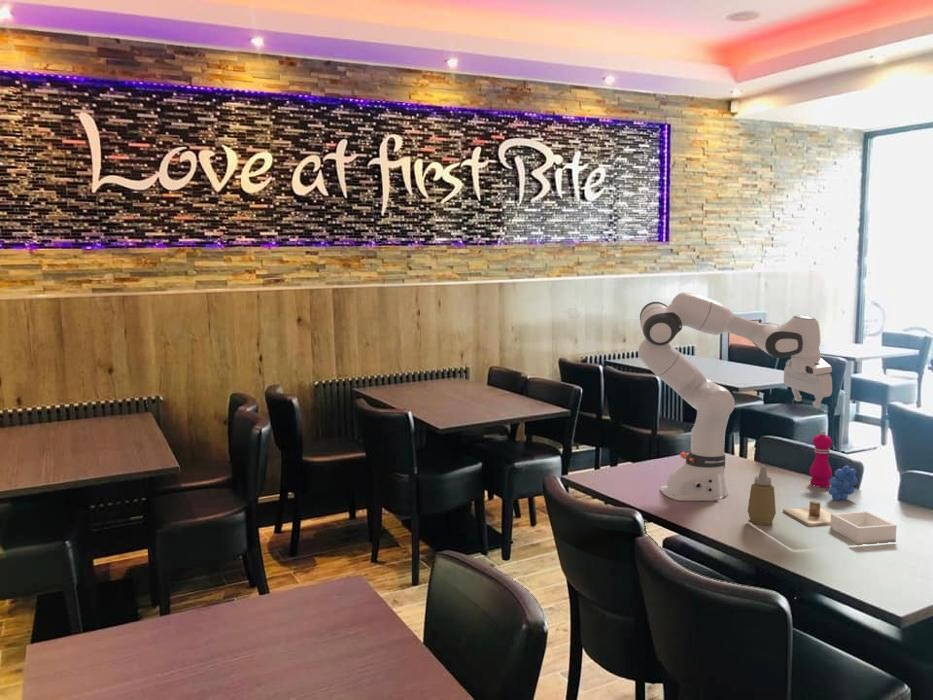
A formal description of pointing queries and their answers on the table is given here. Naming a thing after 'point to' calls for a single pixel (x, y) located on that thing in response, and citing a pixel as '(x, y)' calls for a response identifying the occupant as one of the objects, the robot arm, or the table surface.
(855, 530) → the white open box
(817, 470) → the pepper mill
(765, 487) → the squeeze bottle
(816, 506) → the lid
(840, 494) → the grapes
